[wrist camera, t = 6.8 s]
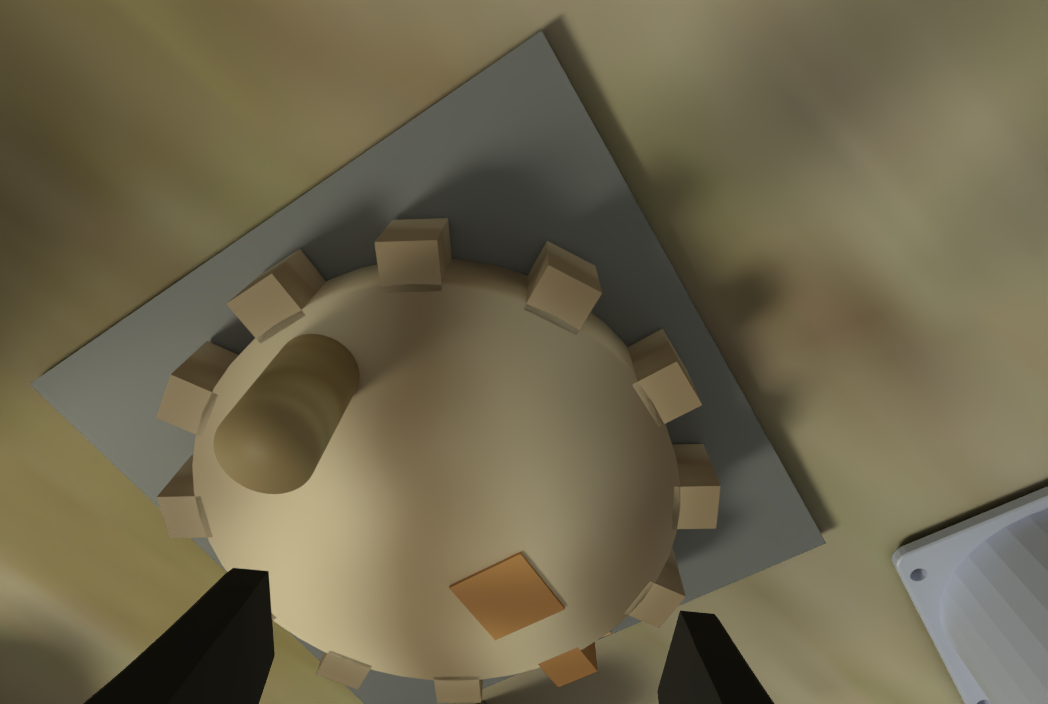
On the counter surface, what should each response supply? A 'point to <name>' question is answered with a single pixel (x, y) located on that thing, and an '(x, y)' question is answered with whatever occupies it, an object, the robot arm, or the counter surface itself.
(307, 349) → the sprocket
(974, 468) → the counter surface
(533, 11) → the counter surface
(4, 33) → the counter surface
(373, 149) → the index plate
